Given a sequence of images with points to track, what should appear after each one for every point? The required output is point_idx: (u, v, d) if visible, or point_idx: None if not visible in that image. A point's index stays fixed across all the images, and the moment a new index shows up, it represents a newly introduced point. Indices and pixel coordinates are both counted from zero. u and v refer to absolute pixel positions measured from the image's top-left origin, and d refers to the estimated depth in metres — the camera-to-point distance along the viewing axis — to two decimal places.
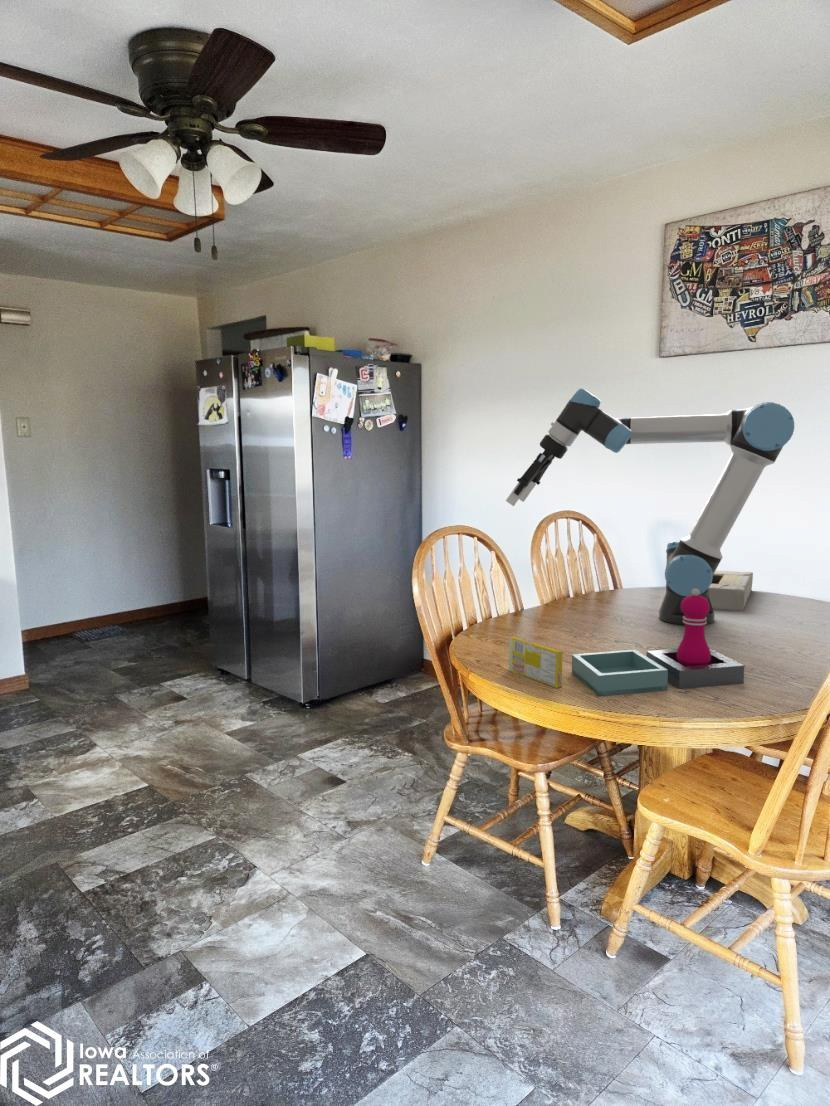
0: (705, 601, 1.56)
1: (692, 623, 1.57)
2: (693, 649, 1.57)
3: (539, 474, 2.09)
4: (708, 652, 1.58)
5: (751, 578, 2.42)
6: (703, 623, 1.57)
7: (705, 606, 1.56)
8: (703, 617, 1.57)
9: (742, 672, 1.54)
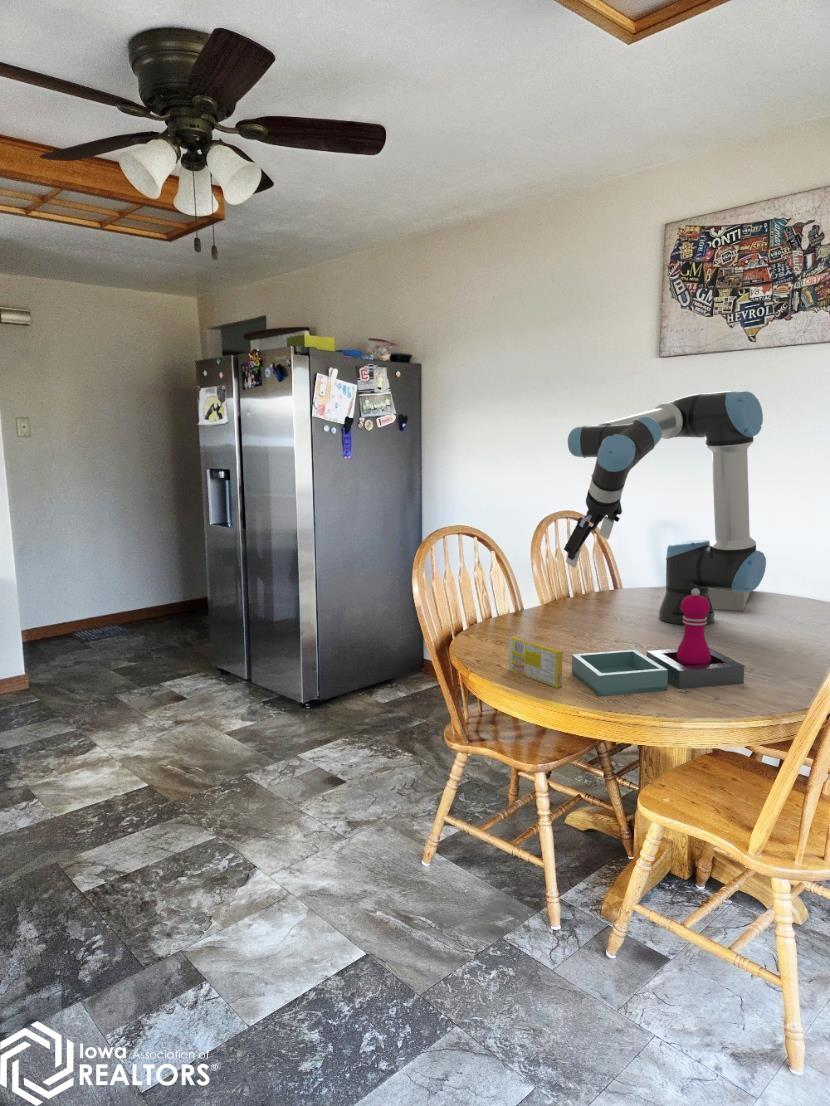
0: (705, 601, 1.56)
1: (692, 623, 1.57)
2: (693, 649, 1.57)
3: (609, 516, 1.78)
4: (708, 652, 1.58)
5: None
6: (703, 623, 1.57)
7: (705, 606, 1.56)
8: (703, 617, 1.57)
9: (742, 672, 1.54)
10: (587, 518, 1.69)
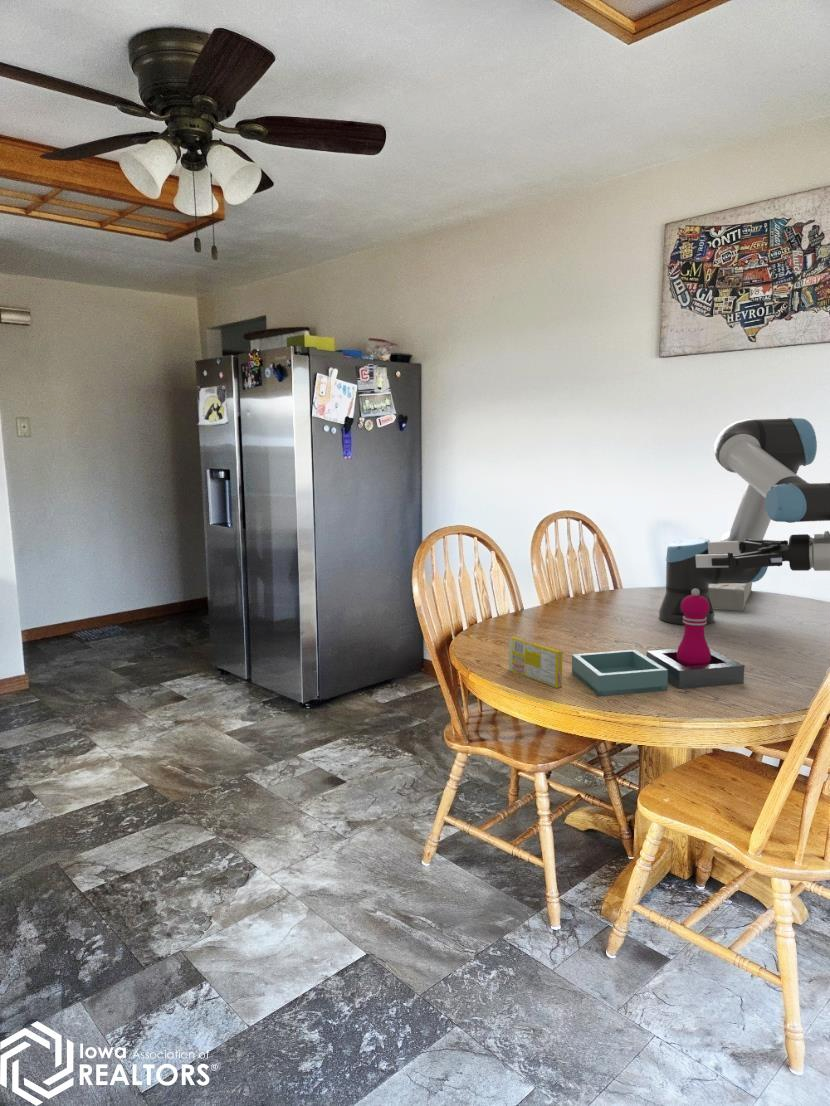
0: (705, 601, 1.56)
1: (692, 623, 1.57)
2: (693, 649, 1.57)
3: (753, 552, 1.57)
4: (708, 652, 1.58)
5: None
6: (703, 623, 1.57)
7: (705, 606, 1.56)
8: (703, 617, 1.57)
9: (742, 672, 1.54)
10: None
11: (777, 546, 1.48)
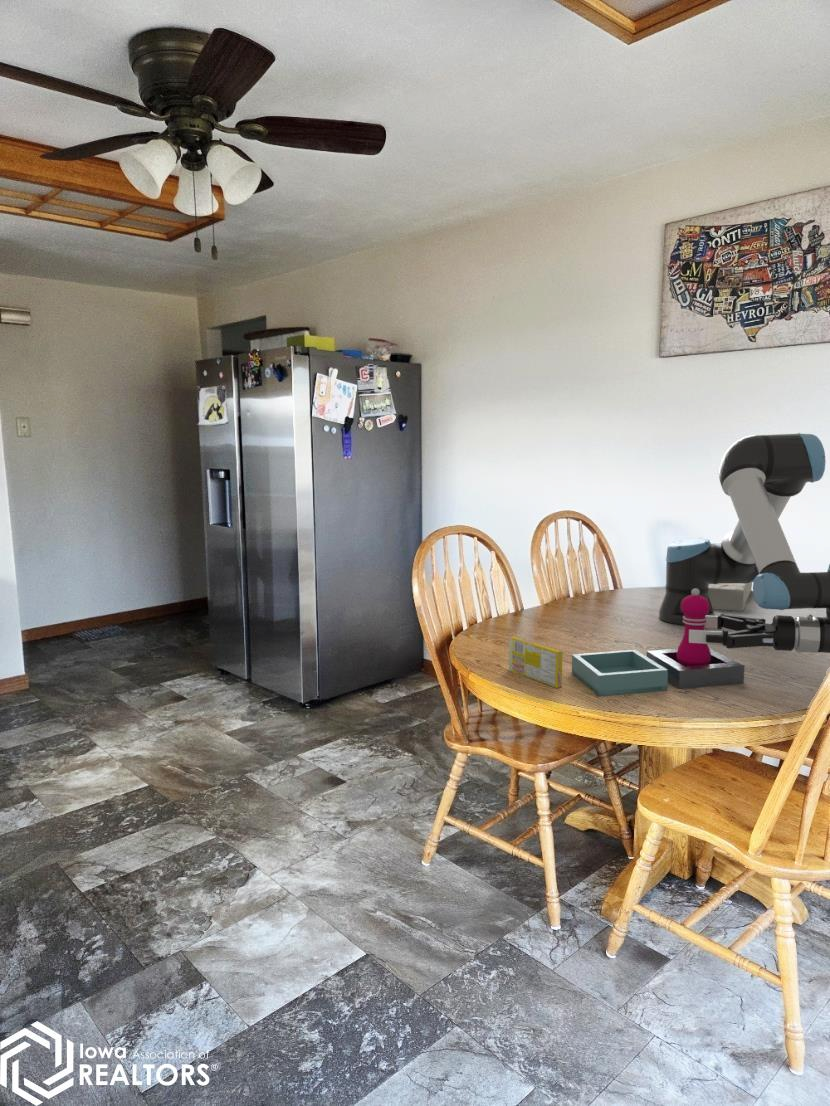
0: (705, 601, 1.56)
1: (692, 623, 1.57)
2: (693, 649, 1.57)
3: (733, 628, 1.61)
4: (708, 652, 1.58)
5: None
6: (703, 623, 1.57)
7: (705, 606, 1.56)
8: (703, 617, 1.57)
9: (742, 672, 1.54)
10: None
11: (764, 626, 1.53)
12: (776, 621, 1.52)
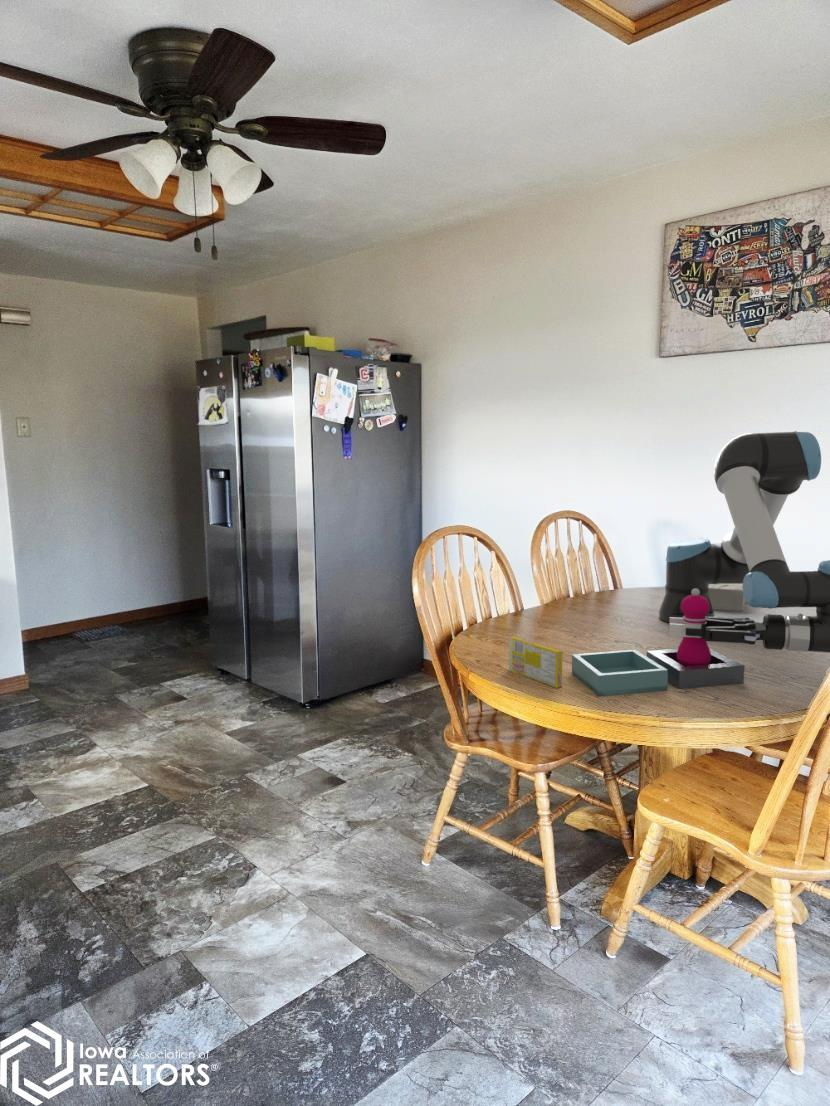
0: (705, 601, 1.56)
1: (692, 623, 1.57)
2: (693, 649, 1.57)
3: None
4: (708, 652, 1.58)
5: None
6: None
7: (705, 606, 1.56)
8: (703, 617, 1.57)
9: (742, 672, 1.54)
10: (756, 637, 1.51)
11: (754, 625, 1.53)
12: (766, 620, 1.52)
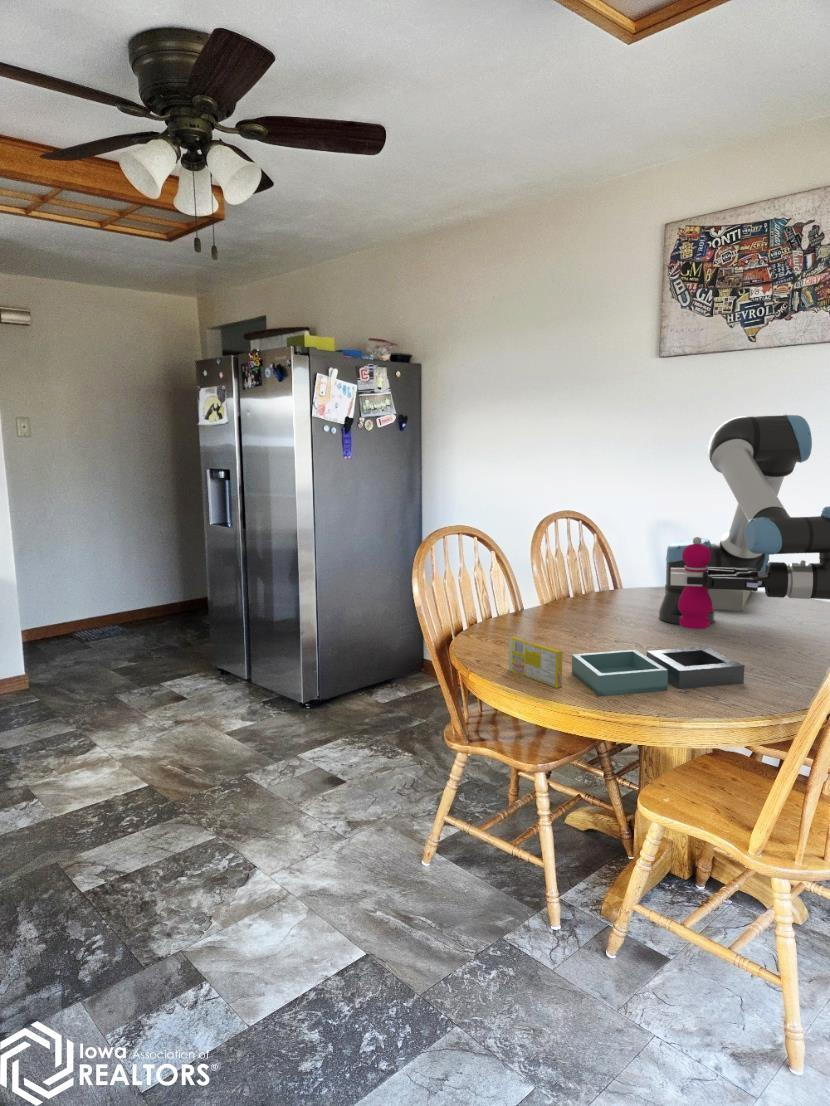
0: (707, 549, 1.54)
1: (693, 572, 1.55)
2: (694, 599, 1.55)
3: None
4: (710, 601, 1.56)
5: None
6: None
7: (707, 554, 1.54)
8: (705, 566, 1.55)
9: (742, 672, 1.54)
10: (758, 584, 1.49)
11: (756, 572, 1.52)
12: (769, 567, 1.51)
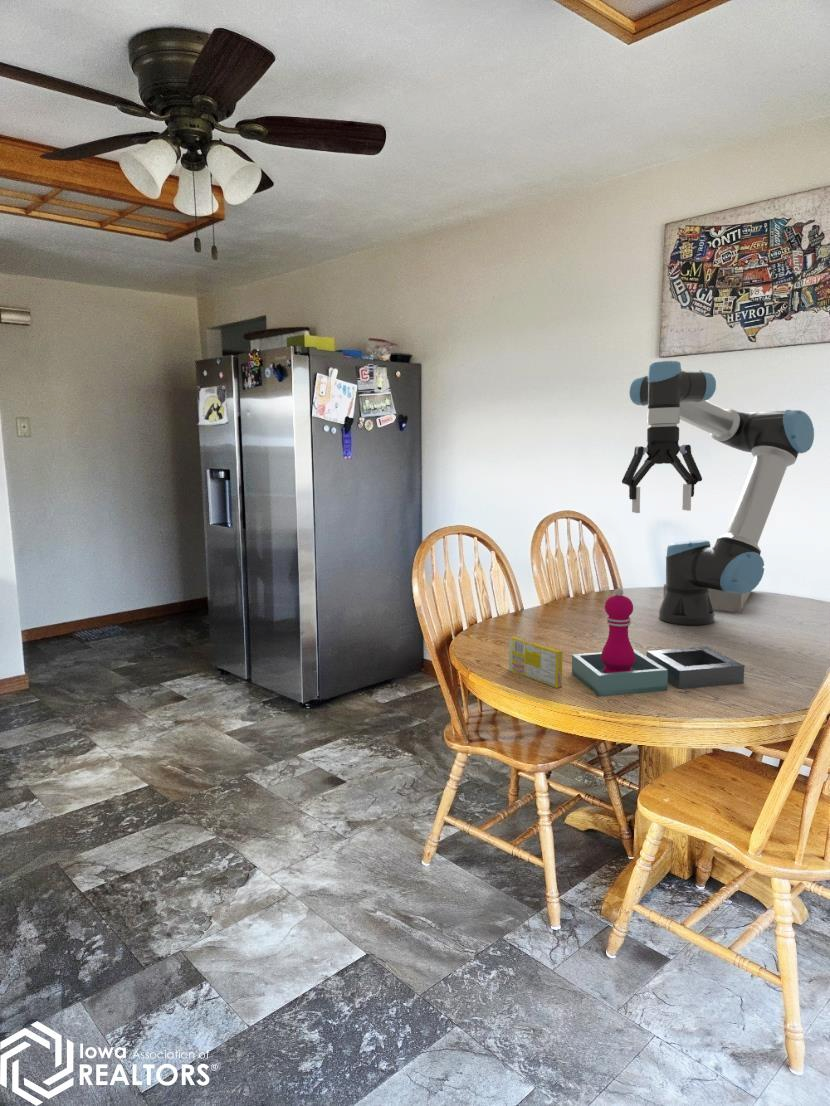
0: (628, 601, 1.54)
1: (615, 624, 1.54)
2: (616, 651, 1.54)
3: (681, 471, 1.78)
4: (632, 653, 1.55)
5: None
6: (626, 624, 1.54)
7: (628, 607, 1.53)
8: (626, 618, 1.55)
9: (742, 672, 1.54)
10: (644, 447, 1.76)
11: None
12: None
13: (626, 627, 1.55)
